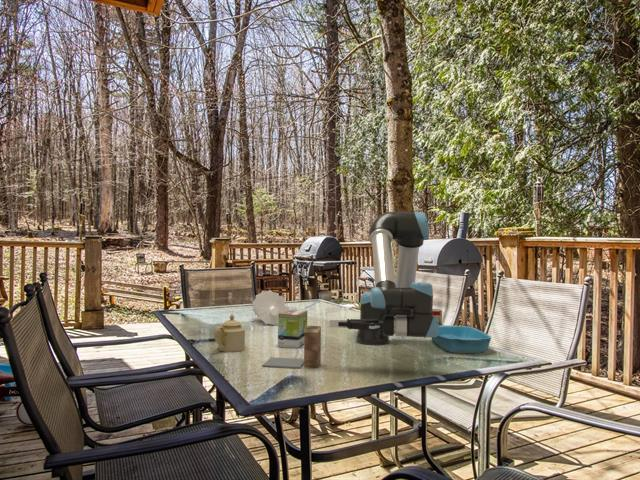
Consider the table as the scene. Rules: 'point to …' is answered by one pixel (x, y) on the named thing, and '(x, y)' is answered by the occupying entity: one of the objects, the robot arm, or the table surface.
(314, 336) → the walnut block
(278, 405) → the table surface
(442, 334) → the casserole dish
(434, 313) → the canned food
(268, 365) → the mat
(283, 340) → the tea box
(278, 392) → the table surface
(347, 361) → the table surface
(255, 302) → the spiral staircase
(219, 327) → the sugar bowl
